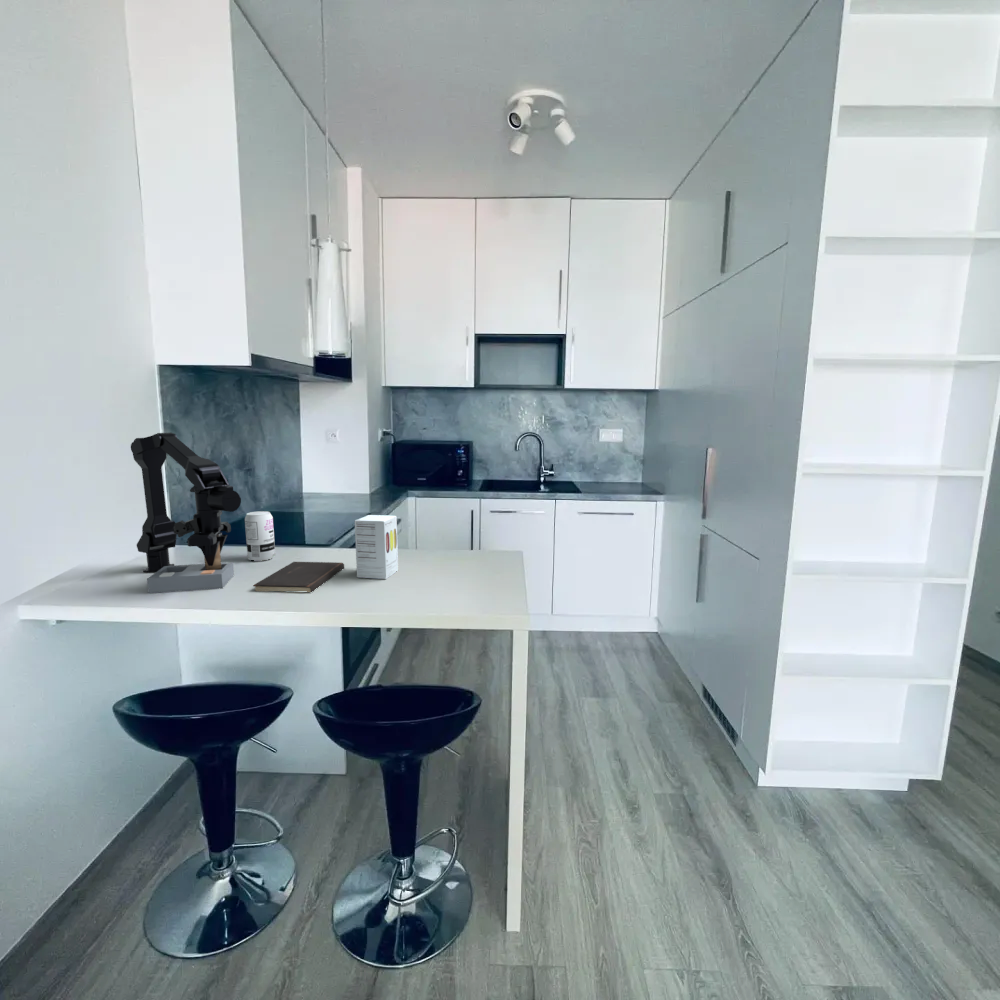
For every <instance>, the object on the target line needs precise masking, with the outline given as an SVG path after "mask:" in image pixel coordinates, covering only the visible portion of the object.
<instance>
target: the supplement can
mask: <svg viewBox="0 0 1000 1000" xmlns="http://www.w3.org/2000/svg"><path fill="white" fill-rule="evenodd" d="M244 528H245V541H246V553H247V559H248V560H249V561H251V560H254V561H253V562H262V561H261V560H267V561H269V560H268V559H270V560H272V559H271V558H273V557H275V556H276V545H275V542H276V541H275V530H274V517H273V515H272V514H271V512H270V511H266V510H264V511H263V510H259V511H251V512H246V515H245V517H244ZM273 559H274V558H273Z"/></svg>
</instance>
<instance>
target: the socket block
mask: <svg viewBox="0 0 1000 1000" xmlns="http://www.w3.org/2000/svg"><path fill="white" fill-rule="evenodd" d="M234 568H235V567H234V562H233V561H231V562H221V570H205V563H196V564H195V563H193V564H192V563H191V564H179V565H176V564H174V566H164V567H163V568H161V569H160V570H158V571H157V572H153V574H151V575H149V576H148V577H147V578H146V580H147V589H148V594H156V593H158V594H159V593H170V592H171V593H173V592H188V591H190V592H191V591H201V590H217V589H219V588H220V589H224V588H225V587H226V585H227V584H229V582H230V581H231V580H232V579H231V578H234V576H235V569H234ZM233 575H234V576H233ZM230 579H231V580H230ZM229 580H230V581H229ZM228 581H229V582H228ZM223 587H224V588H223Z"/></svg>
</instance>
